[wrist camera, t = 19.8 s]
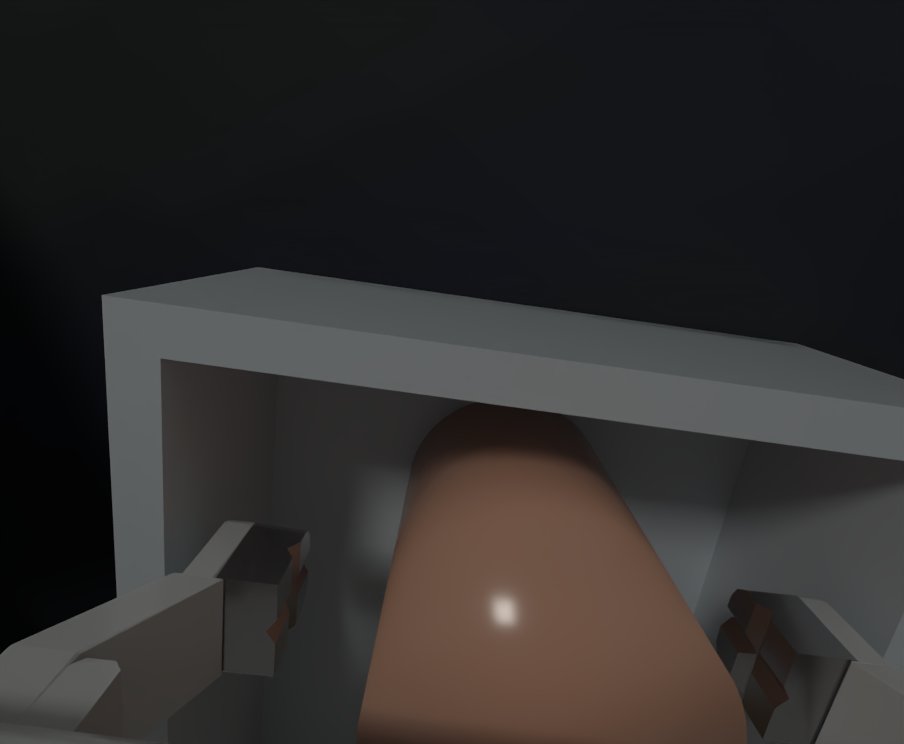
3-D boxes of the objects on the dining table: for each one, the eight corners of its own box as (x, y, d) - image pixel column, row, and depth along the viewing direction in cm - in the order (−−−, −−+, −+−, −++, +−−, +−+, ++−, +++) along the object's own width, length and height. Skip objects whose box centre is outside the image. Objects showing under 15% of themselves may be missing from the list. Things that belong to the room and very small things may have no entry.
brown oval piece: (619, 412, 13) (801, 620, 6) (578, 579, 14) (687, 905, 7) (421, 384, 12) (375, 564, 6) (399, 556, 14) (340, 865, 7)
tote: (258, 267, 12) (101, 295, 7) (797, 343, 13) (1046, 427, 7) (240, 788, 17) (139, 1044, 12) (633, 836, 17) (710, 1107, 12)
